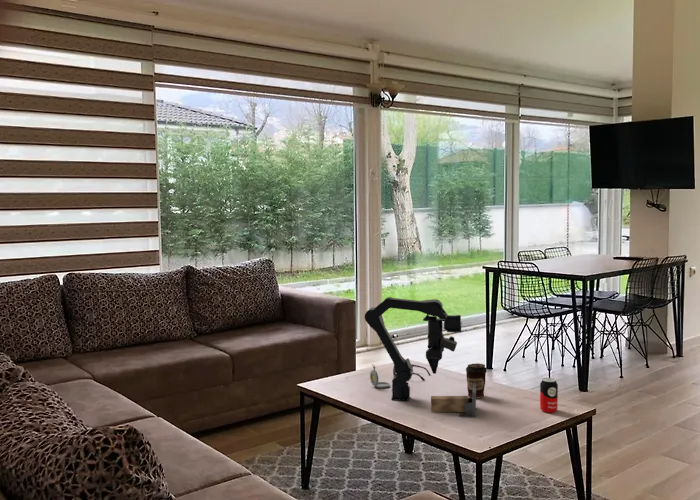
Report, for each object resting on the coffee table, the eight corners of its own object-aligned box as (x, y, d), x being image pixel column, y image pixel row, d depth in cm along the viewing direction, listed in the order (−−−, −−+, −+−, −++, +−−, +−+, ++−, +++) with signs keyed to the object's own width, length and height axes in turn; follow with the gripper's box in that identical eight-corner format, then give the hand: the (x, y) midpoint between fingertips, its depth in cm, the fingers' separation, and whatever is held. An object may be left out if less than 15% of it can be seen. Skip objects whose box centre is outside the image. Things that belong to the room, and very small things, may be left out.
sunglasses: (400, 371, 317) (400, 360, 316) (432, 374, 310) (432, 364, 310) (389, 378, 304) (389, 367, 304) (423, 382, 298) (423, 371, 298)
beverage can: (537, 411, 256) (538, 380, 255) (543, 407, 261) (543, 376, 260) (554, 414, 252) (554, 382, 251) (559, 409, 257) (560, 378, 256)
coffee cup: (486, 400, 270) (486, 368, 269) (465, 399, 272) (465, 367, 271) (486, 393, 279) (486, 362, 278) (466, 392, 281) (466, 362, 279)
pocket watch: (392, 385, 293) (392, 362, 292) (382, 390, 285) (382, 367, 285) (375, 383, 297) (375, 360, 296) (365, 387, 290) (365, 364, 289)
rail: (431, 411, 257) (430, 398, 257) (431, 408, 261) (431, 396, 260) (468, 411, 255) (468, 398, 255) (468, 408, 259) (468, 395, 258)
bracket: (459, 416, 251) (459, 391, 250) (460, 406, 263) (460, 382, 262) (475, 417, 250) (475, 392, 249) (475, 407, 262) (476, 383, 261)
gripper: (454, 337, 259) (454, 377, 260) (456, 327, 277) (456, 365, 278) (425, 336, 261) (425, 376, 262) (429, 326, 279) (429, 364, 280)
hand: (435, 370), depth 271 cm, fingers open, 9 cm apart
